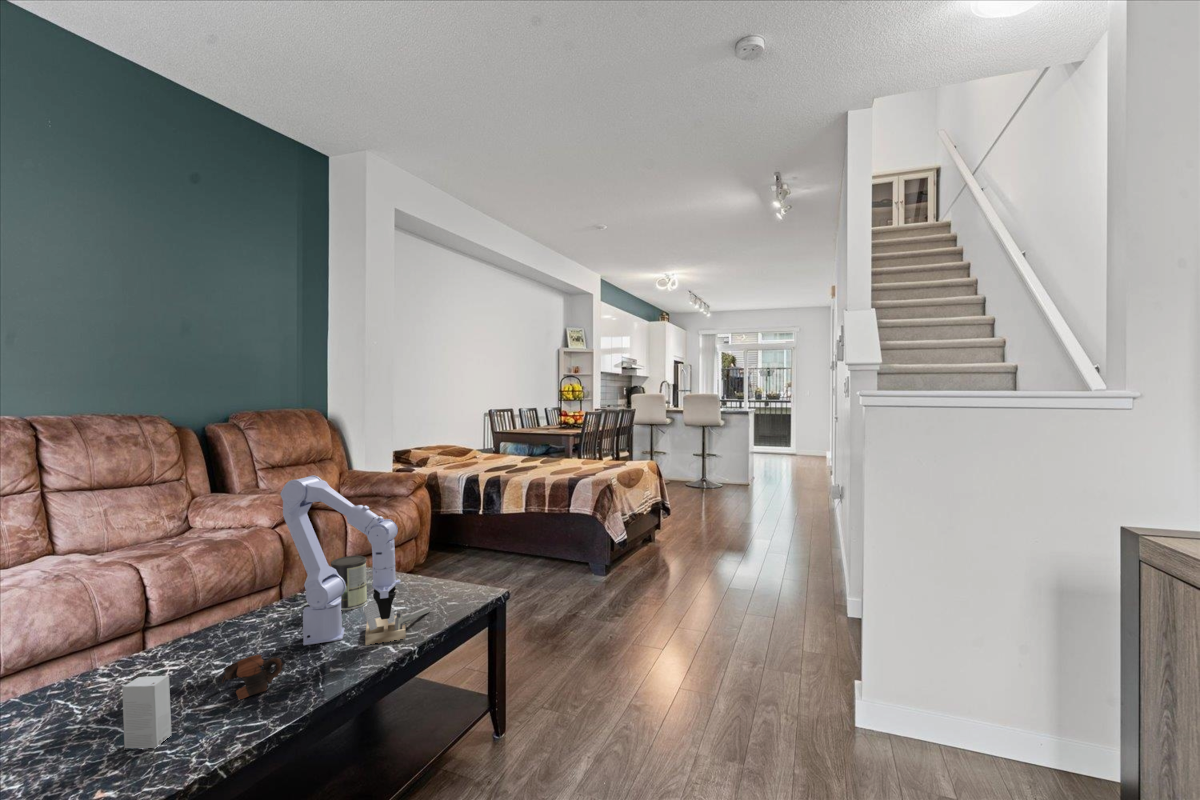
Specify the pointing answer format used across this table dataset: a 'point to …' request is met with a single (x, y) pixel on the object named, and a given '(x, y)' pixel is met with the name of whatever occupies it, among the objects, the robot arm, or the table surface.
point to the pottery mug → (253, 674)
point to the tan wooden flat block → (384, 632)
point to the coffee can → (352, 581)
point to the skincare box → (146, 712)
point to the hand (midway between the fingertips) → (385, 616)
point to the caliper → (408, 617)
